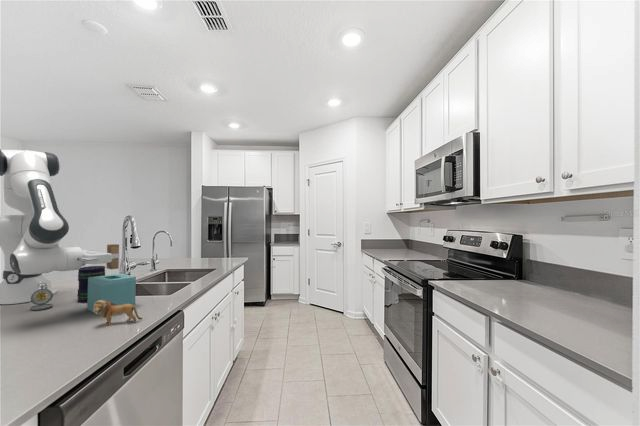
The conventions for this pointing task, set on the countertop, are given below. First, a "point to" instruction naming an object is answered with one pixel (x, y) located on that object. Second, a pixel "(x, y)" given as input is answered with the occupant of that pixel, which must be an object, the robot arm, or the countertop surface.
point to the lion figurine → (114, 310)
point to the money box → (111, 289)
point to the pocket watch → (39, 294)
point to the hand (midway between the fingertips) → (115, 255)
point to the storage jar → (83, 280)
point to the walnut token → (115, 262)
